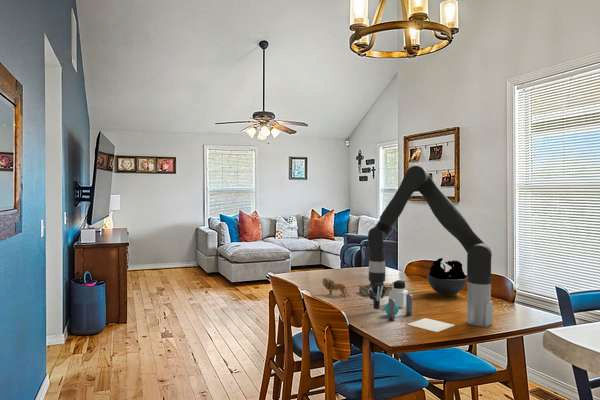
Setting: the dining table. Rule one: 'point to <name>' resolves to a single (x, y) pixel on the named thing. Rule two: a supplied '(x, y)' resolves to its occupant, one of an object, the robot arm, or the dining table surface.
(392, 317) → the left post
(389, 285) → the hardcover book
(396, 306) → the ball
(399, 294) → the medicine bottle
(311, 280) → the dining table surface
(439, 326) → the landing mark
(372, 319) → the dining table surface
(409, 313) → the right post
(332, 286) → the lion figurine
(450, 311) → the dining table surface
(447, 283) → the coal bowl
